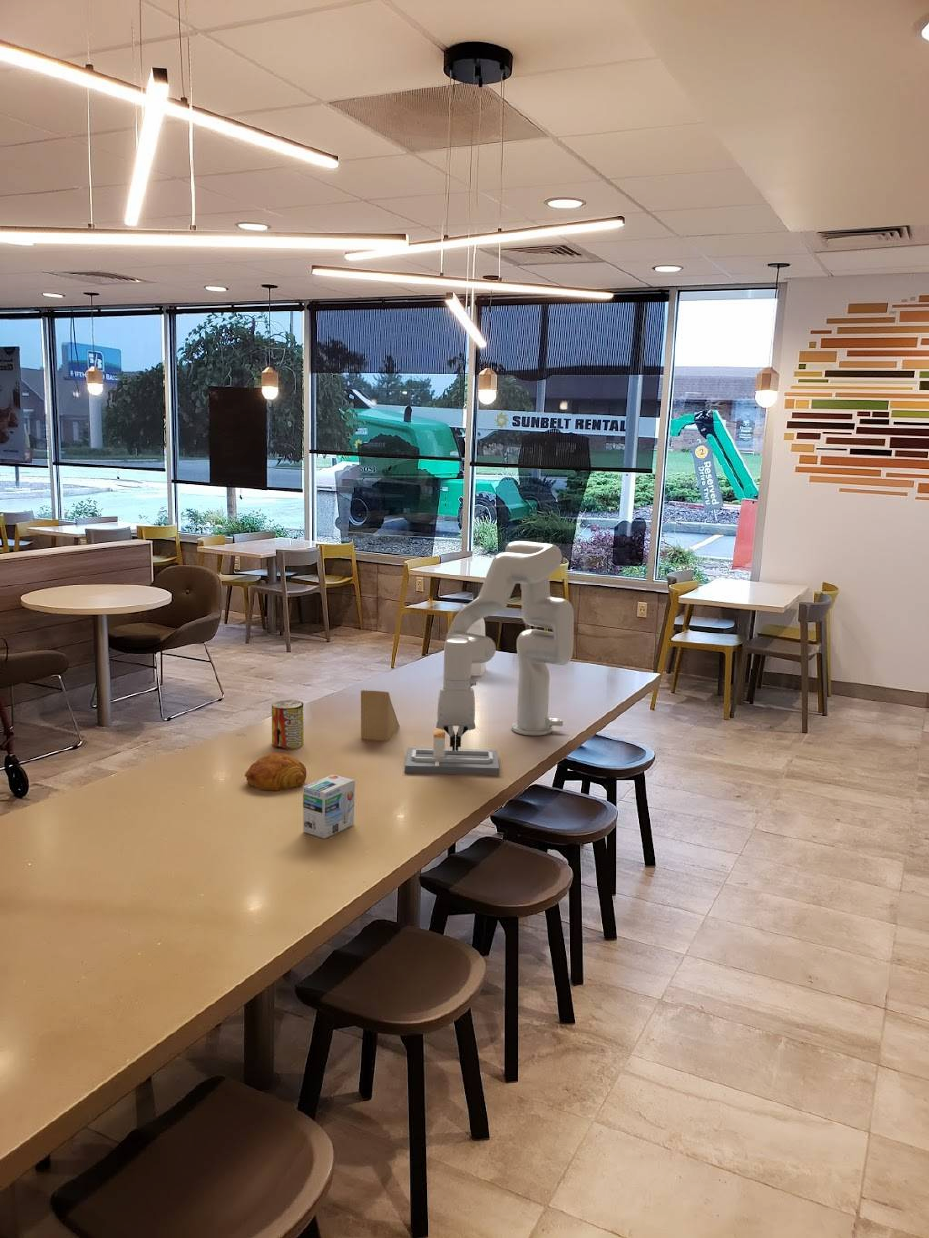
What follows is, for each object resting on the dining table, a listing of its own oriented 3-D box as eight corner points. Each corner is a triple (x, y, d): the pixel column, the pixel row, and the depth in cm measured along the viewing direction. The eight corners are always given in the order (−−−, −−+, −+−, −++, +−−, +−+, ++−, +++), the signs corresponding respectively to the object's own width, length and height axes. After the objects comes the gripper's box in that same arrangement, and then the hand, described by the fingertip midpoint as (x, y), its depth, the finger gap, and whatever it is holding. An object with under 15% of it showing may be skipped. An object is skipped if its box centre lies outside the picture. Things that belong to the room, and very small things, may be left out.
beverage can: (265, 745, 266) (264, 705, 264) (285, 737, 274) (285, 698, 272) (290, 751, 262) (290, 710, 260) (310, 742, 270) (309, 702, 268)
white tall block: (450, 674, 358) (452, 607, 353) (455, 667, 369) (457, 602, 364) (481, 676, 356) (483, 609, 351) (485, 669, 367) (488, 604, 362)
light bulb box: (324, 839, 204) (325, 793, 202) (301, 832, 208) (301, 786, 206) (355, 824, 213) (355, 779, 211) (332, 817, 217) (332, 773, 215)
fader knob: (444, 753, 257) (445, 729, 256) (444, 759, 252) (445, 735, 251) (433, 752, 257) (434, 729, 256) (432, 758, 252) (433, 734, 251)
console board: (496, 756, 263) (496, 746, 262) (498, 775, 248) (499, 764, 247) (407, 754, 262) (408, 744, 262) (404, 772, 248) (405, 762, 247)
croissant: (283, 776, 249) (281, 746, 248) (316, 784, 238) (314, 753, 237) (235, 787, 239) (233, 756, 239) (267, 796, 228) (265, 763, 227)
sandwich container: (401, 726, 289) (401, 679, 286) (388, 741, 274) (389, 692, 272) (374, 724, 291) (374, 677, 288) (360, 739, 276) (360, 689, 273)
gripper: (484, 681, 255) (482, 745, 258) (429, 680, 255) (428, 744, 258) (485, 688, 247) (482, 754, 251) (428, 686, 247) (427, 753, 250)
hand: (455, 749), depth 254 cm, fingers closed
